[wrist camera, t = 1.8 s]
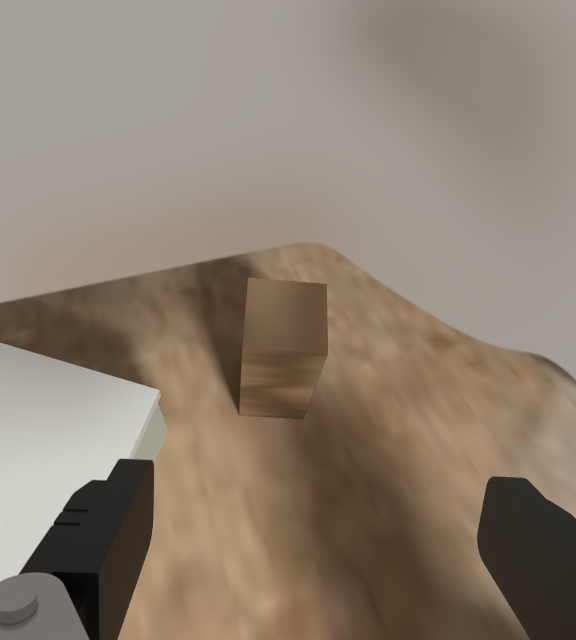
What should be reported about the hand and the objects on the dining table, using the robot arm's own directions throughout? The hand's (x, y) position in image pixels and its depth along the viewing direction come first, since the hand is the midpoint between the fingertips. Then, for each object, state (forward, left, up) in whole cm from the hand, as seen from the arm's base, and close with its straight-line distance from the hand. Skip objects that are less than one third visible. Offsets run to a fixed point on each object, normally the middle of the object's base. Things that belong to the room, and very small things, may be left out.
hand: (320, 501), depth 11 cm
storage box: (-14, +1, -20) cm, 25 cm away
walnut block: (-2, +11, -20) cm, 23 cm away
